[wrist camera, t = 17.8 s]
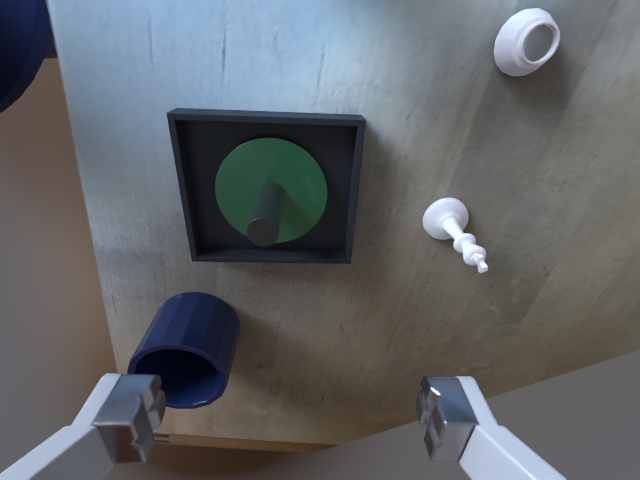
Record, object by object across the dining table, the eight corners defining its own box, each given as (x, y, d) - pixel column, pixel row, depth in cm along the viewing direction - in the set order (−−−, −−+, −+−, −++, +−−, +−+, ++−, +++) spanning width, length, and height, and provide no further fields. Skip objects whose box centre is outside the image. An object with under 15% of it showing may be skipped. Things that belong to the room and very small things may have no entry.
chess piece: (464, 191, 37) (513, 237, 28) (468, 230, 39) (515, 283, 30) (419, 205, 37) (453, 254, 28) (426, 242, 40) (459, 297, 31)
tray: (198, 249, 39) (191, 261, 37) (176, 108, 31) (166, 112, 29) (348, 251, 40) (350, 264, 38) (361, 114, 32) (365, 120, 30)
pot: (165, 351, 47) (139, 409, 39) (150, 291, 42) (116, 344, 34) (242, 352, 47) (230, 408, 40) (236, 292, 42) (221, 344, 35)
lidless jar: (527, 83, 31) (562, 22, 29) (546, 86, 29) (587, 20, 27) (480, 63, 31) (513, -1, 28) (496, 65, 28) (534, -6, 26)
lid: (223, 237, 38) (200, 288, 30) (211, 133, 32) (179, 161, 24) (324, 239, 38) (328, 289, 30) (329, 137, 33) (337, 166, 25)
